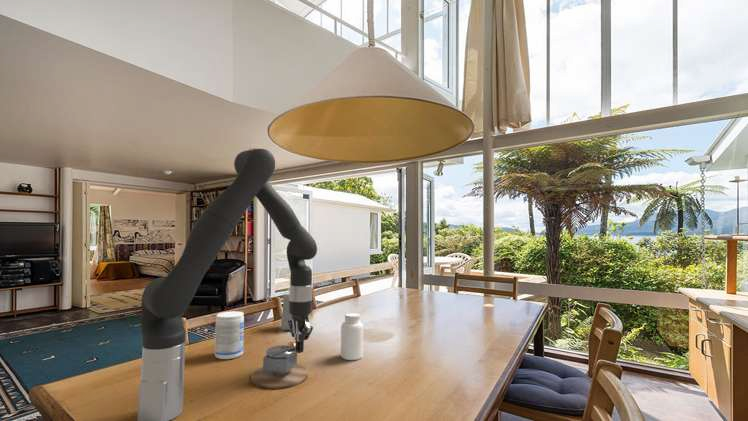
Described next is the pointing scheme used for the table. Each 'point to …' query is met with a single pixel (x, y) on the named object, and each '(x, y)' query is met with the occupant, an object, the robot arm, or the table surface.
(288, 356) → the coupling
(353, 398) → the table surface
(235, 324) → the supplement tub
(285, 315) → the skincare box
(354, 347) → the pill bottle
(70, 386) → the table surface
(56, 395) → the table surface
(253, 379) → the post base
